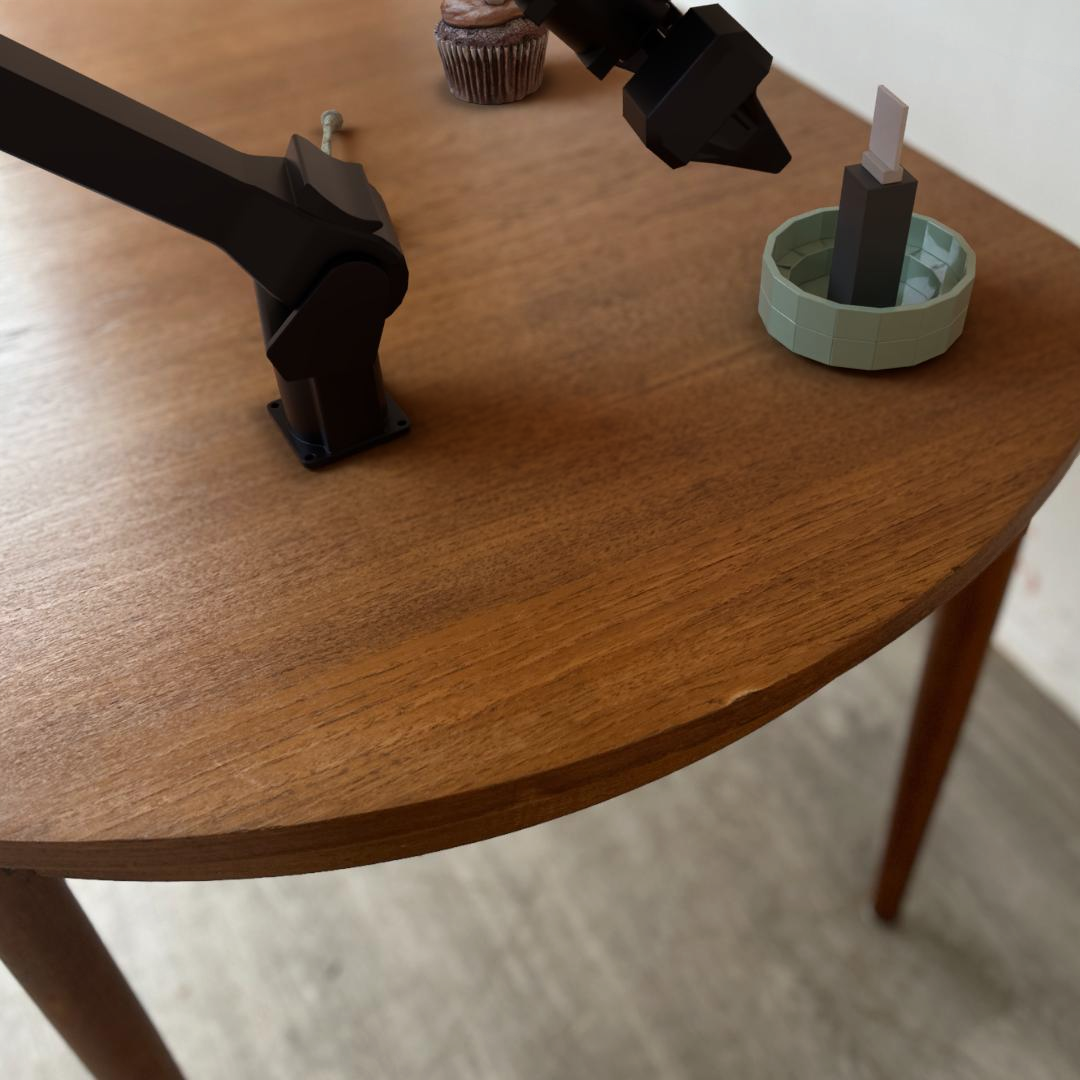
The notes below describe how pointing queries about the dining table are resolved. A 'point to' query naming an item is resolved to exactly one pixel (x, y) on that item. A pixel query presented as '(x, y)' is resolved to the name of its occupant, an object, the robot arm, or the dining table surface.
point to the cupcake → (490, 50)
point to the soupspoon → (330, 128)
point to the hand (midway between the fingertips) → (749, 126)
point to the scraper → (874, 214)
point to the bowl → (856, 331)
